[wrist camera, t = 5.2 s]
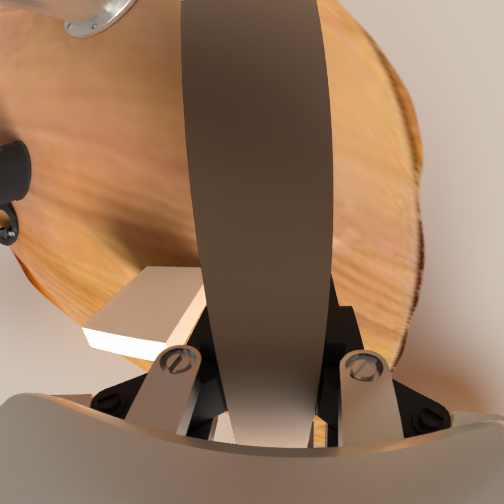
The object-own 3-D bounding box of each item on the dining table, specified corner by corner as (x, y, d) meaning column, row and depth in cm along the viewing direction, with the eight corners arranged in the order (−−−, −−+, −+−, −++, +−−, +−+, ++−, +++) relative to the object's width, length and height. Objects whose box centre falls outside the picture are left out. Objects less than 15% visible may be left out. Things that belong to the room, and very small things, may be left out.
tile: (147, 266, 29) (81, 327, 18) (214, 267, 28) (165, 342, 17) (151, 283, 30) (91, 348, 19) (216, 286, 28) (173, 366, 17)
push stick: (212, 68, 8) (143, 13, 3) (327, 60, 7) (357, -11, 3) (249, 425, 15) (235, 491, 10) (312, 427, 14) (310, 495, 10)
